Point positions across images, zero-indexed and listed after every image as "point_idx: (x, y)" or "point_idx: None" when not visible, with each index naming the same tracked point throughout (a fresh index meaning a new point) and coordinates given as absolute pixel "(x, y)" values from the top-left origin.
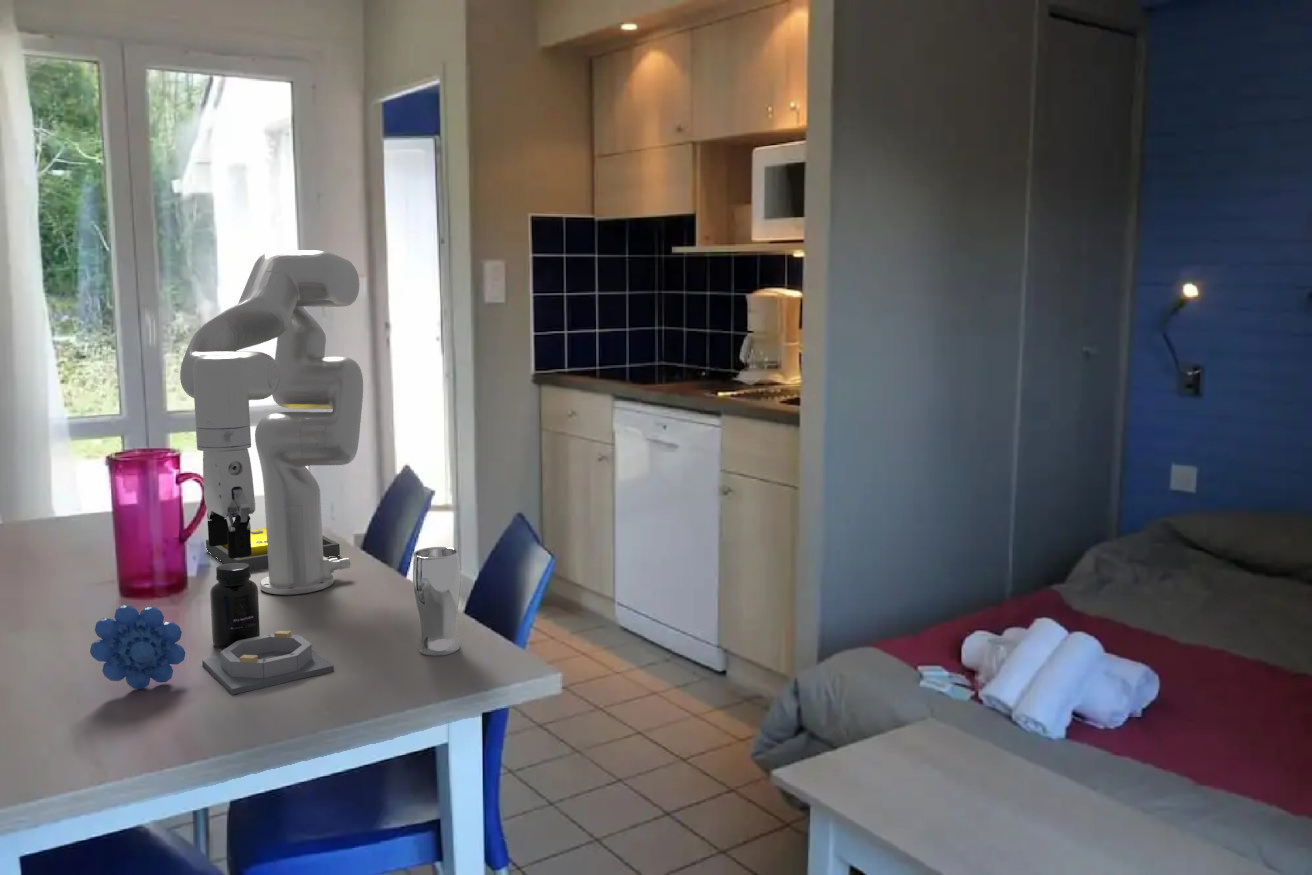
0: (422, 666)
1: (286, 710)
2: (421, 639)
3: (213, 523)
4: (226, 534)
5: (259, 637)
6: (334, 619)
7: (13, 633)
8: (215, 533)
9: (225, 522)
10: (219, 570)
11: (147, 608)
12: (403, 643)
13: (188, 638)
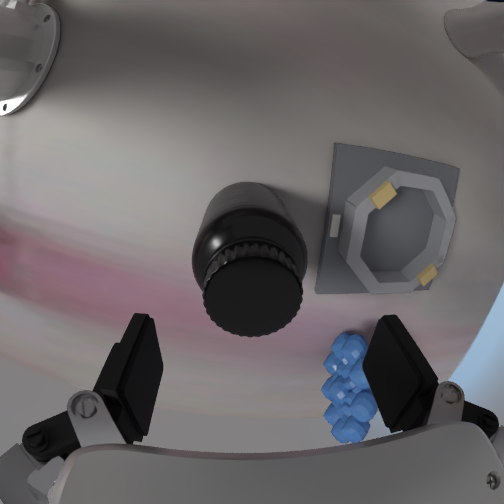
0: (492, 89)
1: (482, 256)
2: (476, 51)
3: (144, 425)
4: (144, 352)
5: (358, 227)
6: (237, 32)
7: (73, 385)
8: (152, 389)
9: (131, 395)
10: (265, 334)
11: (368, 420)
12: (426, 37)
13: (175, 273)
